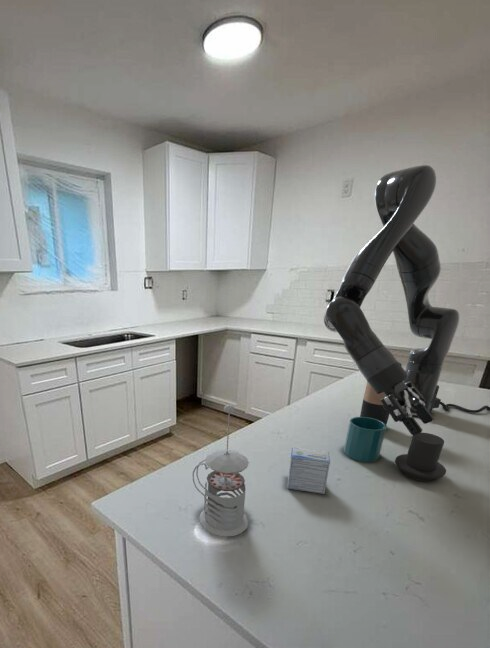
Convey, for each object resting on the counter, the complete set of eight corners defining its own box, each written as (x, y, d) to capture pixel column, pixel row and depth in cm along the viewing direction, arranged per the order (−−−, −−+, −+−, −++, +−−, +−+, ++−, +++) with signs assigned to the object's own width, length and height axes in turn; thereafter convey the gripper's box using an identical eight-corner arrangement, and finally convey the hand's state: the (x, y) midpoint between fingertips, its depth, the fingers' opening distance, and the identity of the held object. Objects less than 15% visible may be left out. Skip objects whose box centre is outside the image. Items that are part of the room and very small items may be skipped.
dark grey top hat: (421, 461, 91) (431, 427, 87) (454, 484, 82) (467, 447, 78) (383, 464, 90) (392, 430, 86) (412, 487, 81) (424, 450, 77)
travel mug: (379, 421, 113) (394, 359, 105) (390, 432, 106) (407, 366, 98) (353, 421, 114) (366, 359, 106) (363, 431, 107) (378, 366, 99)
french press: (237, 543, 67) (246, 420, 57) (182, 522, 72) (182, 407, 62) (255, 513, 74) (266, 400, 64) (204, 496, 80) (207, 390, 70)
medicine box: (323, 484, 83) (329, 451, 80) (324, 495, 79) (330, 461, 76) (287, 478, 86) (291, 446, 82) (286, 489, 82) (291, 455, 78)
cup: (365, 445, 99) (372, 415, 96) (385, 460, 92) (393, 429, 88) (337, 447, 99) (343, 417, 95) (355, 463, 91) (362, 431, 87)
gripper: (384, 367, 79) (431, 430, 75) (406, 354, 87) (449, 411, 84) (354, 384, 84) (397, 444, 81) (377, 371, 93) (417, 425, 90)
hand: (423, 427), depth 83 cm, fingers open, 8 cm apart
